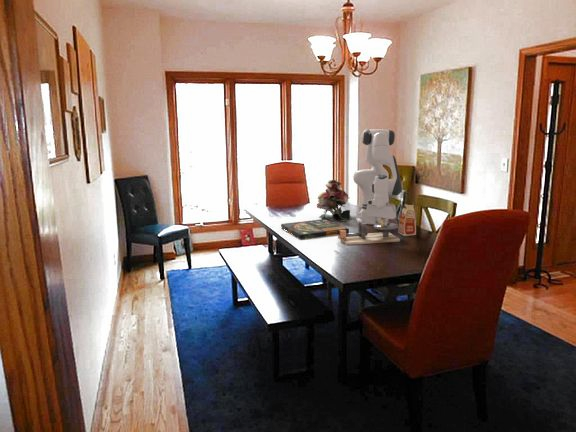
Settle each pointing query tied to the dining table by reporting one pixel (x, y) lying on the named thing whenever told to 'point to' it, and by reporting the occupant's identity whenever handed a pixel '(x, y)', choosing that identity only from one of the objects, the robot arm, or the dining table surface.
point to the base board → (370, 237)
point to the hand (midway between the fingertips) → (380, 224)
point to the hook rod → (348, 234)
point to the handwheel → (385, 227)
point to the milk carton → (407, 221)
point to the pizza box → (313, 228)
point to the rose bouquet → (333, 202)
